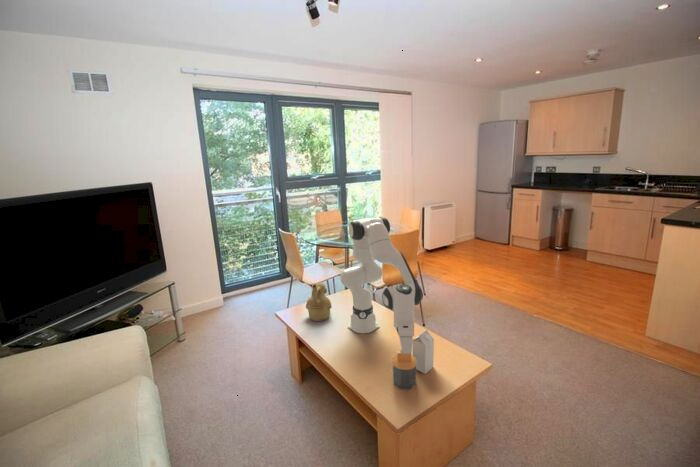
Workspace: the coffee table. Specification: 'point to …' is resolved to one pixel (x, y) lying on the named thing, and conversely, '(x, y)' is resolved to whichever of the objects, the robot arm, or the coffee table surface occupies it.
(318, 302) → the ceramic vessel
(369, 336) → the coffee table surface
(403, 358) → the orange cap
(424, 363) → the milk carton
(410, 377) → the graphite tube
